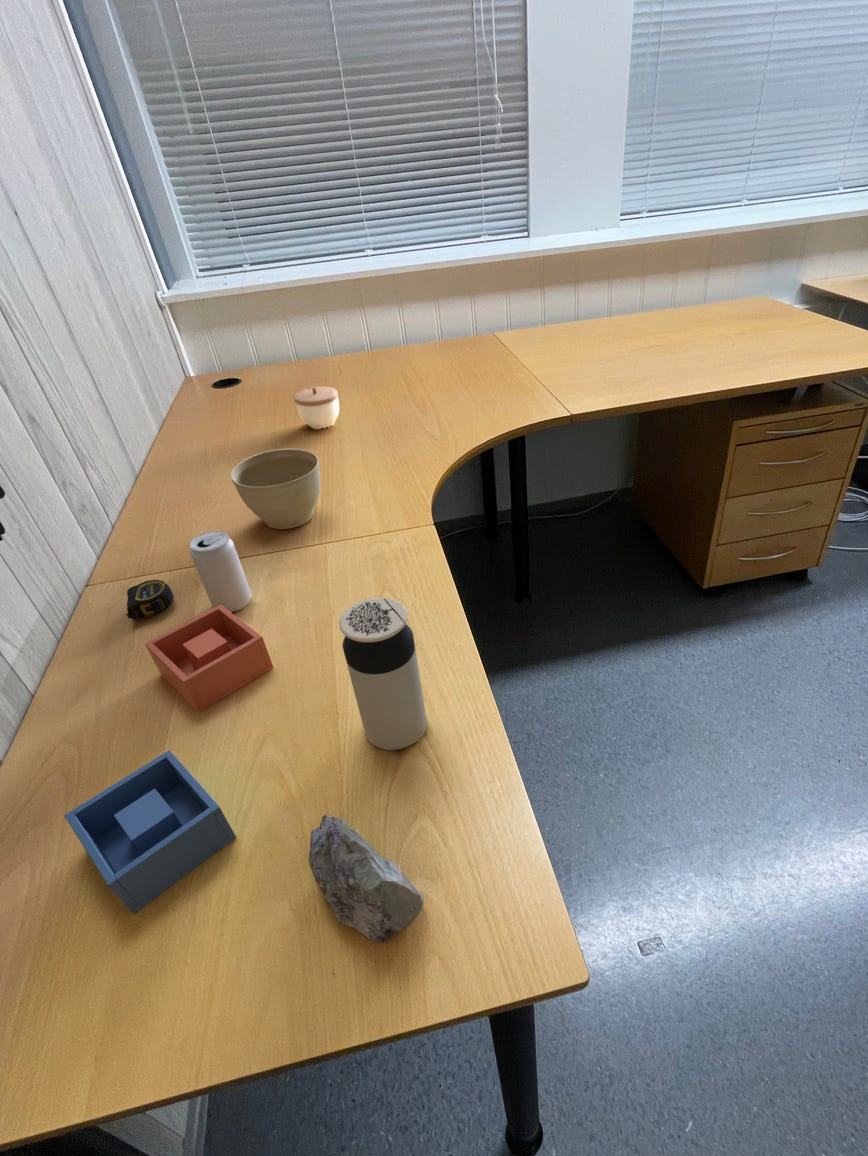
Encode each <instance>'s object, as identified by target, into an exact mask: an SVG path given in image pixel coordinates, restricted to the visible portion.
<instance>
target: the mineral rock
mask: <svg viewBox="0 0 868 1156" xmlns="http://www.w3.org/2000/svg"><path fill="white" fill-rule="evenodd" d="M309 841H310V842H309V848H310V849H309V855H308V864H309V867H310V869H311V873H312V875H313V877H314V882H315V883H316V884H318V885H319V887H320V893H321V894H323V896H325V899H324V900H325V902H326V903H327V905H328V908H329V909H330V910H331V911H333V913H334V916H335V919H336V920H337V922H338V923H340V925H341V924H342V925H344V926H345V925H346V926H349V927H351V928H354V929H355V930H357V931H358V932H359V933H360V934H362V935H363V936H364V937H366V938H367V939H370V940H373V941H376V942H378V943H384V942H385V941H387V940H388V939H389V938H390V937H391V936H393V935H395V934H397V933H400V932H401V931H403V930H405V929H407V928H408V927H409V926H410V925H411V924H412V923H413V922H414V921H415V920H416V918H417V917H418V916H419V915H420V913H421V911H422V909H423V907H424V896H423V894H422V893H421V892H420V891H419V890H418V889H417V888H416V886H414V885H413V883H411V881H410V880H409V878H408V877H407V875H406V874H405V873H403V871H402V870H401V868H400V866H399V865H397V863H395V862H393V861H391V860H389V859H388V858H385V857H383V856H382V855H380V854H379V853H377V851H376V850H375V849H374V847H373V846H371V844H370V843H369V842H368V841H366V840H365V839H363V838H362V837H361V835H360V834H359V833H358V831H357V830H356V829H355V828H351V826H349V824H348V823H347V822H346V821H345V820H344V819H342V818H336V817H335V816H333V815H332V816H331V815H329V814H326V813H325V814H323V815H322V816H321V821H320V824H319V826H317V827H316V828H315V829H312V831H311V832H310V840H309Z"/></svg>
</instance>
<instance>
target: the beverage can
mask: <svg viewBox="0 0 868 1156" xmlns="http://www.w3.org/2000/svg"><path fill="white" fill-rule="evenodd" d="M189 547H190V551H189V554H190V556H191V560H192V562H193V564H194V566H195V570H196V571H197V574H198V576H199V578H200V582H201V583H202V586H203V588H204V590H205V594H206V595H207V598H208V600H209V603H210V605H211V607H212V609H213V608H215V607H217V606H219V605H222V606H223V607H224V608H226V609H227V610H228V611H230V612H231V613H234V612H235V613H236V612H238V611H240V610H242V609H244V608H245V607H246V606H247V605H248V604H249V603H250V601H251V600H252V598H253V597H252V596H253V594H252V591H251V588H250V586H249V583H248V580H247V578H246V574H245V571H244V570H243V566H242V563H241V561H240V558H239V555H238V552H237V550H236V546H235V544H234V541H233V540H232V539H231V538H230V537H229V535H228V534H227V532H223V531H209V532H205V533H201V534H200V535H198V536H196V537H194V538H193V539H192V540H190V543H189Z"/></svg>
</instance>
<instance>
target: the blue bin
mask: <svg viewBox="0 0 868 1156" xmlns="http://www.w3.org/2000/svg"><path fill="white" fill-rule="evenodd" d="M153 789H156V791H157V792H158V793H159V794H160V796H161V797H162V798H163V799H164V801H165V802H166V803H167V804H168V806H169V807H170V808H171V809H172V810H173V812H174V813H175V815H176V816H177V818H178V819H179V821H180V823H181V824H182V827H181V828H179V829H178V830H176V831H175V832H174V833H172V834H171V835H169V836H168V837H166V838H165V839H164V840H162V841H161V842H159V843H158V844H156V845H155V846H154V847H152V848H151V849H149V850H148V851H146V852H145V853H144V854H141V853H140V851H139V850H138V849H137V847H136V846H135V845H134V843H133V842H132V841H131V839H130V838H129V836H128V835H127V834H126V832H125V831H124V829H123V828H122V827H121V825H120V824H119V822H118V821H117V820H116V818H115V817H114V815H115V814H116V813H118V812H119V811H121V810H122V809H124V808H126V807H127V806H129V805H130V804H132V803H133V802H135V801H136V800H138V799H139V798H141V797H142V796H144V795H145V794H147V793H149V792H150V791H152V790H153ZM63 817H64V818H65V819H66V821H67V823H68V825H69V826H70V828H71V829H72V830H73V832H74V834H75V835H76V837H77V839H78V840H79V842H80V844H81V845H82V847H83V848H84V849H85V851H86V853H87V854H88V856H89V858H90V859H91V861H92V862H93V864H94V865H95V867H96V869H97V871H98V872H99V874H100V875H101V877H102V879H103V881H104V882H105V883H106V885H107V887H109V889H110V890H111V891H112V892H113V893H114V894H115V895H116V896H117V898H118V899H119V900H120V901H121V902H122V904H124V906H125V907H126V908H127V909H128V910H129V911H130V913H131V914H132V915H134V914H136V913H138V912H139V911H140V910H141V909H143V908H145V907H146V906H147V905H148V904H149V903H151V902H152V901H153V900H155V899H156V898H157V897H159V896H161V895H162V894H163V893H164V892H166V891H167V890H168V889H169V888H171V887H173V885H175V884H176V883H177V882H179V881H180V880H182V879H183V878H185V876H187V875H188V874H189V873H191V872H192V871H193V870H195V869H196V868H198V867H199V866H200V865H202V864H203V863H204V862H206V861H207V860H208V859H210V858H211V857H212V856H214V855H215V854H216V853H218V852H219V851H221V850H222V849H223V848H224V847H226V846H227V845H228V844H230V843H231V842H233V841H234V840H235V839H237V836H236V834H235V832H234V830H233V828H232V826H231V825H230V823H229V821H228V819H227V817H226V816H225V814H224V812H223V810H222V809H221V807H220V805H219V804H218V803H217V802H216V801H215V800H214V798H213V797H212V796H211V795H210V794H209V793H208V791H206V790H205V788H204V787H203V786H202V785H201V784H200V782H198V780H197V779H196V778H195V777H194V776H193V775H192V774H191V772H190V771H189V770H188V768H186V767H185V766H184V764H183V763H182V762H181V761H180V760H179V759H178V757H177V756H176V755H175V754H174V752H172V751H171V749H168V750H166V751H165V752H163V753H162V754H160V755H159V756H157V757H155V758H154V759H152V760H151V761H148V762H147V763H146V764H144V765H142V766H141V767H138V768H137V769H136V770H134V771H133V772H131V773H129V774H128V775H126V776H125V777H123V778H121V779H120V780H118V781H117V782H115V783H113V784H111V785H110V786H108V787H107V788H106V789H104V790H102V791H100V792H99V793H97V794H96V795H94V796H93V797H91V798H90V799H88V800H86V801H84V802H83V803H81V804H80V805H78V806H76V807H75V808H73V809H72V810H70V811H69V812H67V813H65V814H64V815H63Z"/></svg>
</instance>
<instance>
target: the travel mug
mask: <svg viewBox="0 0 868 1156" xmlns="http://www.w3.org/2000/svg"><path fill="white" fill-rule="evenodd" d="M408 620H409V614H408V610H407V608H406V606H404V605H403V604H402V603H401V602H400V601H397V600H395V599H392V598H387V597H372V598H366V599H362V600H360V601H357V602H356V603H353V604H352V605H350V606H348V608H347V609H346V610H345V611H344V612H342V614H341V616H340V619H339V622H338V623H339V630H340V631H341V633H342V634H343V635H344V637H343V641H342V650H343V654H344V658H345V662H346V665H347V669H348V673H349V678H350V681H351V685H352V688H353V689H352V690H353V692H354V696H355V700H356V704H357V708H358V711H359V716H360V719H361V723H362V727H363V731H364V735H365V738H366V739H367V740H368V742H369V743H370V744H371V745H373V746H374V747H377V748H379V749H383V750H387V751H394V750H395V751H397V750H401V749H404V748H407V747H409V746H411V745H413V744H415V743H417V742H418V741H419V740H420V739H421V738H422V737H423V736H424V734H425V732H426V730H427V726H428V719H427V712H426V707H425V701H424V700H425V699H424V694H423V693H424V692H423V688H422V682H421V674H420V668H419V662H418V656H417V655H418V654H417V650H416V649H417V648H416V642H415V638H414V637H415V636H414V632H413V630H412V628H411V626H409V625H408V624H407V622H408Z"/></svg>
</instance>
